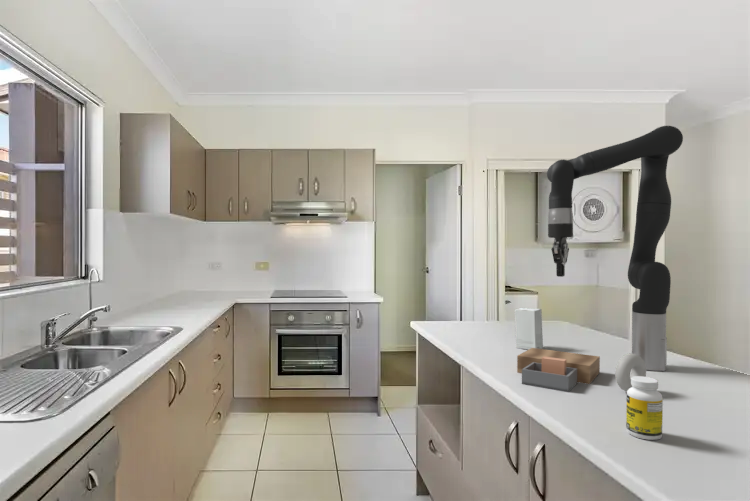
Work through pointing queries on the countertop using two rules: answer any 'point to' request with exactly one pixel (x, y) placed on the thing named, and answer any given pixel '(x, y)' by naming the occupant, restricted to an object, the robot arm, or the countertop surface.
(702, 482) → the countertop surface
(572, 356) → the chopping block
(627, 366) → the donut
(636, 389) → the pill bottle
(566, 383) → the bin
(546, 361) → the tile
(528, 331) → the skincare box
